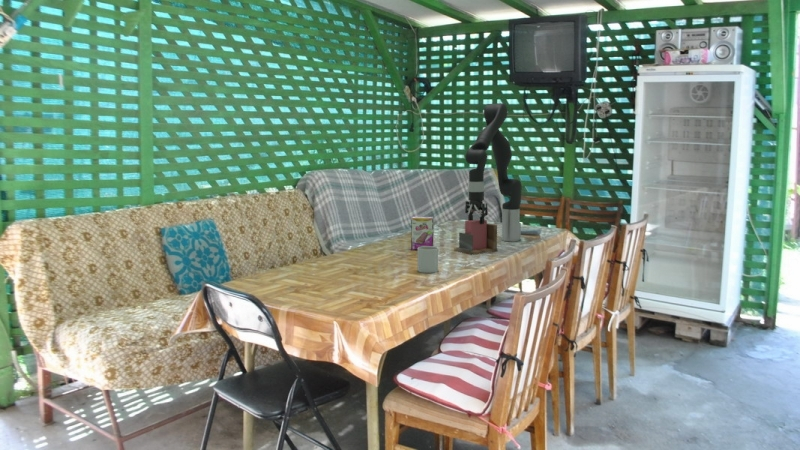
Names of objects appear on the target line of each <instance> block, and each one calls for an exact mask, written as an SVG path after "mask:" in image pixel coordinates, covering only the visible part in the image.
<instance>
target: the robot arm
mask: <svg viewBox="0 0 800 450" xmlns="http://www.w3.org/2000/svg"><path fill="white" fill-rule="evenodd" d="M483 115H484V120H485V123H486V126H485V127H484V128H482V130H481V131H480V132H479V133H478V136H477V137H476V140H475V142H474V143H473V144H472V145H471V146H470V147H469V148H468V149H467V151H466V152H465V157H464V158H465V161H466V163H467V164H468V165H477V167H476V168H472V169H469V171H468V179H469V180H468V201H465V206H464V207H465V208H464V209H465V210H464V211H465V214H467V216H468V217H467V219H468V220H467V221H470V220H474V215H473V214H474V213H475V212H476V213H478V215H479V219H480V224H484V220H485V217H486V216H488V212H489V211H488V203H483V201H484V200H485V183H484V181H485V180H484V176H485V175H484V171H485V168H486V164H487V161H488V153H487V150H488V149H489V148H490V145H491V147H492V153H493V158H494V162H495V167H496V172H497V180H498V181H497V182H498V190H499V192H500V194H501V195H502V196H506V197H509V200H508V201H506V202H503V203H502V207H501V210H502V212H501V216H502V217H501V218H502V219H501V241H503V242H518V241H521V236H522V234H521V232H522V231H521V230H522V223H521V222H520V215H521V214H520V213H521V212H520V209H521V208H520V207H521V202H522V190H523V188H522V181H520V179H518V178H509V177H508V176H509V175H508V168H509V165H510V162H511V160H512V147H511V144H510V141H509V140H508V139H507V137H506V136H505V135H504V134H503V133H502V132H501V131H500V128H501V126H502V125H503V124H504V122H505V121H506V119H507V116H508V108H507V105H506V104H505V103H502V102H499V103H489V104H486V105H485V106H484V108H483Z"/></svg>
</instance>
